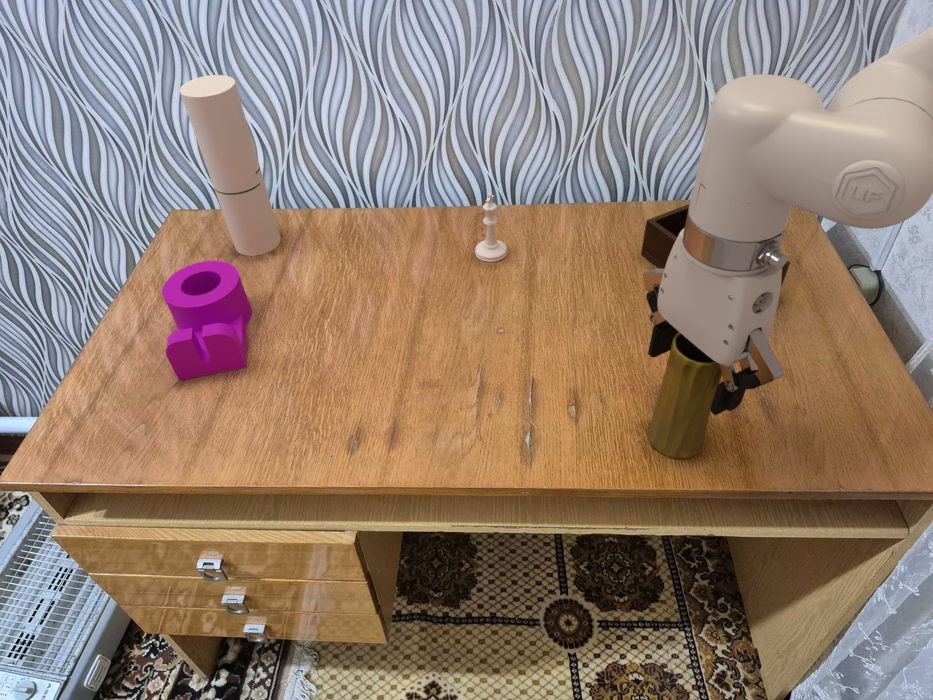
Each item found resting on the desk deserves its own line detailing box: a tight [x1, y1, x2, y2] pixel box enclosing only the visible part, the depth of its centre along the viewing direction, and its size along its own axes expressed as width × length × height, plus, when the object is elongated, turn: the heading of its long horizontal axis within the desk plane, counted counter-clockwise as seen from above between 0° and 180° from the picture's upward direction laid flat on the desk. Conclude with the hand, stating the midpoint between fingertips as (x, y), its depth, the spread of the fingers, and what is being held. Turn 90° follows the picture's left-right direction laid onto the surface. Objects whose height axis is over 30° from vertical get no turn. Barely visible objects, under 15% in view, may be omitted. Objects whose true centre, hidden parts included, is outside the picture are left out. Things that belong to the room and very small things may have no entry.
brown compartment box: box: [640, 203, 791, 287], centre depth 91 cm, size 9×17×6 cm, turn 28°
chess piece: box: [474, 192, 509, 263], centre depth 96 cm, size 5×5×10 cm
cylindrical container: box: [179, 74, 282, 257], centre depth 96 cm, size 7×7×25 cm
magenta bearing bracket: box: [161, 260, 253, 381], centre depth 88 cm, size 16×10×6 cm, turn 14°
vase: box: [647, 332, 723, 460], centre depth 68 cm, size 6×6×14 cm
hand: (691, 378), depth 67 cm, fingers open, 8 cm apart
